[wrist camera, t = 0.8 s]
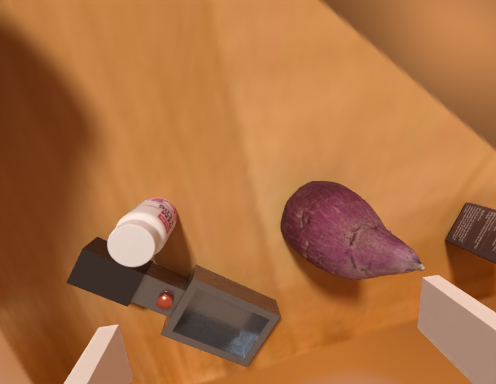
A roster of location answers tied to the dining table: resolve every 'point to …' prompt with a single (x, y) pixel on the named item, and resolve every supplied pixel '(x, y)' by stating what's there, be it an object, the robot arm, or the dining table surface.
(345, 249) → the vegetable
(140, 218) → the pill bottle
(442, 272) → the dining table surface
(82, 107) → the dining table surface
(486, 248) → the box
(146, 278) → the shallow gray tray
